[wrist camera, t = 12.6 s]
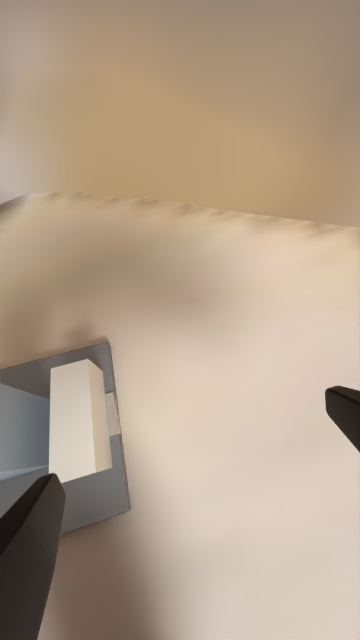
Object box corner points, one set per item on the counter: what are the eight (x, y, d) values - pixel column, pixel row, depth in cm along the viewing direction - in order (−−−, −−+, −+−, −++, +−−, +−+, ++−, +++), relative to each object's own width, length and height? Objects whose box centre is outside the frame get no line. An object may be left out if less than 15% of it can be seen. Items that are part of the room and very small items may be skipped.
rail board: (130, 508, 17) (112, 527, 13) (-81, 579, 16) (-173, 624, 12) (110, 345, 24) (94, 325, 20) (-39, 384, 22) (-88, 371, 18)
